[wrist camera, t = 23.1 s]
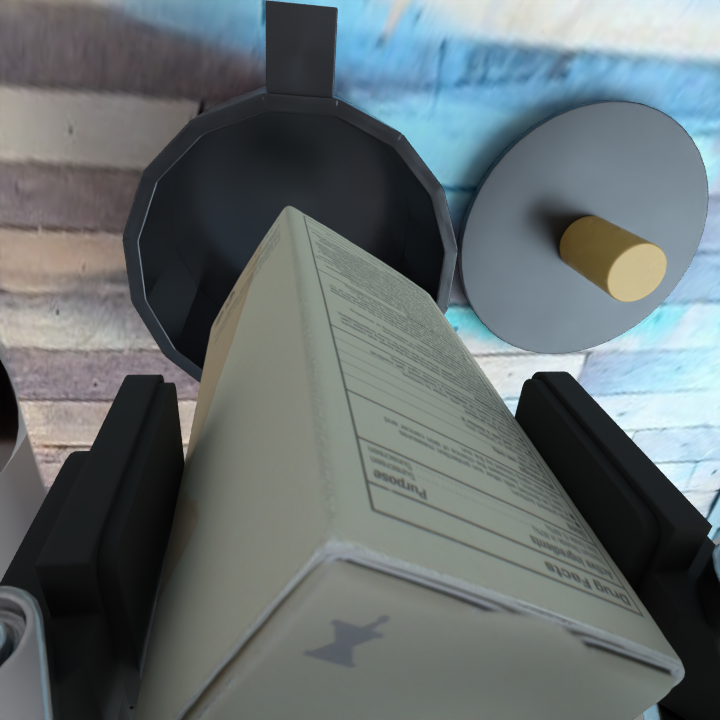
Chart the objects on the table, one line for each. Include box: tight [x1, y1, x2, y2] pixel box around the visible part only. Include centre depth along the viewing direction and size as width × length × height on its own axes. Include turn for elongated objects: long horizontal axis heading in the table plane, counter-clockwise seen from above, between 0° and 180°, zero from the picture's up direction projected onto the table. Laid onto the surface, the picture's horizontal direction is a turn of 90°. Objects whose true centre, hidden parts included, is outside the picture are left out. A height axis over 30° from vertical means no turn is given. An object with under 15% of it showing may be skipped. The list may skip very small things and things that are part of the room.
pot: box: [123, 1, 458, 383], centre depth 25 cm, size 13×19×8 cm
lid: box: [458, 100, 708, 354], centre depth 28 cm, size 14×14×6 cm
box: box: [134, 206, 685, 720], centre depth 10 cm, size 5×4×11 cm
